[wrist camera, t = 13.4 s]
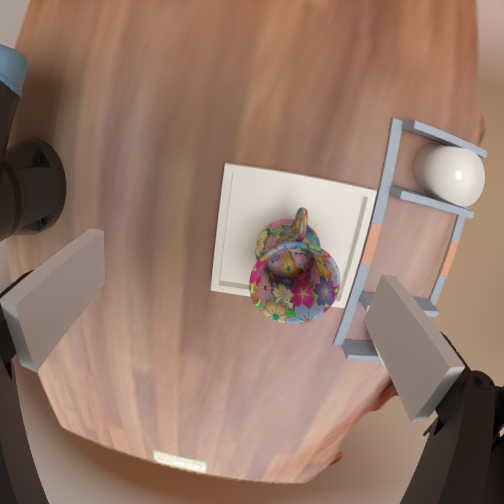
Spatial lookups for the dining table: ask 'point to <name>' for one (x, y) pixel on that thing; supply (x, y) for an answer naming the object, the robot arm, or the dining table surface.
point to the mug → (293, 272)
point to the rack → (366, 348)
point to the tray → (285, 207)
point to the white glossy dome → (449, 173)
